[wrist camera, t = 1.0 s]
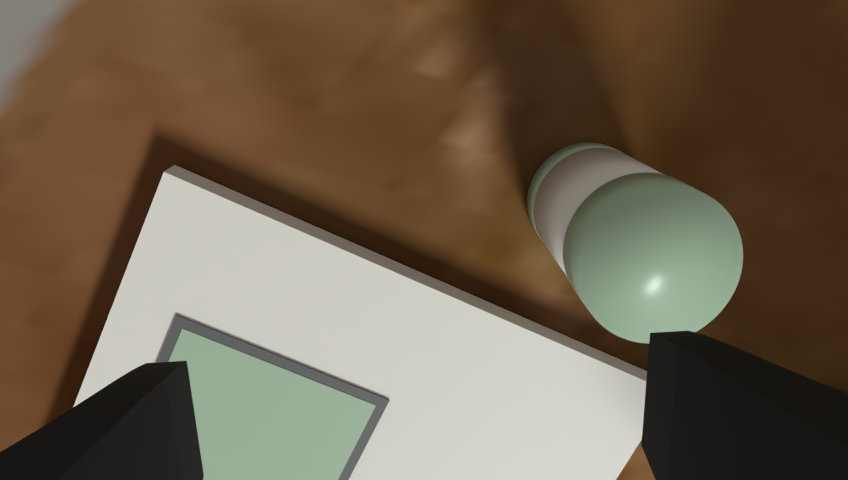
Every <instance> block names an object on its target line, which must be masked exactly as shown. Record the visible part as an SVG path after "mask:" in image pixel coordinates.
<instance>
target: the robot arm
mask: <svg viewBox="0 0 848 480" xmlns="http://www.w3.org/2000/svg"><path fill="white" fill-rule="evenodd" d="M641 445H642V447H643V450H644V452H645V455H646V457H647V460H648V462H649V465H650V467H651V469H652V472H653V474H654V477H655V479H656V480H848V394H847V393H844V392H841V391H839V390H836V389H834V388H831V387H829V386H826V385H824V384H821V383H819V382H816V381H814V380H811V379H809V378H806V377H804V376H802V375H799V374H797V373H794V372H792V371H790V370H787V369H785V368H783V367H780V366H778V365H776V364H773V363H771V362H769V361H766V360H764V359H762V358H759V357H757V356H754V355H752V354H750V353H747V352H745V351H743V350H740V349H738V348H736V347H733V346H731V345H728V344H726V343H723V342H721V341H718V340H716V339H713V338H710V337H708V336H705V335H702V334H699V333H695V332H691V331H674V332H657V333H650V341H649V354H648V366H647V379H646V392H645V405H644V418H643V431H642V444H641ZM203 477H204V474H203V467H202V460H201V453H200V447H199V440H198V433H197V427H196V420H195V413H194V406H193V400H192V393H191V386H190V379H189V373H188V366H187V361H174V362H157V363H145V364H143V365H141V366H139V367H137V368H135V369H133V370H131V371H130V372H128V373H126V374H125V375H123V376H121V377H120V378H118V379H117V380H115V381H113V382H112V383H110V384H109V385H107V386H106V387H104V388H103V389H101V390H99V391H98V392H96V393H95V394H93V395H92V396H90V397H89V398H87V399H86V400H84V401H82V402H81V403H79V404H78V405H76V406H75V407H73V408H72V409H70V410H69V411H67V412H65V413H64V414H62V415H61V416H59V417H58V418H56V419H55V420H53V421H52V422H50V423H48V424H47V425H45V426H44V427H42V428H40V429H39V430H37V431H35V432H34V433H32V434H30V435H28V436H27V437H25V438H23V439H22V440H20V441H18V442H17V443H15V444H13V445H12V446H10V447H8V448H7V449H5V450H3V451H2V452H0V480H203Z"/></svg>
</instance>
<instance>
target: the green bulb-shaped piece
mask: <svg viewBox="0 0 848 480" xmlns="http://www.w3.org/2000/svg"><path fill="white" fill-rule="evenodd" d="M527 212H528V216H529V220H530V223H531V225H532V227H533V229H534V231H535V232H536V234H537V235H538V237H539V238H540V239H541V241H542V242H543V244H544V245H545V246H546V248H547V249H548V251H549V252H550V253H551V255H552V256H553V257H554V259H555V260H556V262H557V263H558V264H559V266H560V267H561V269H562V270H563V271H564V273H565V274H566V276H567V277H568V280H569V282H570V284H571V285H572V287H573V289H574V290H575V292H576V293H577V295H578V296H579V297H580V299H581V300H582V302H583V303H584V304H585V306H586V307H587V309H588V310H589V312H590V313H591V314H592V315H593V317H594V318H595V319H596V320H597V321H598V322H599V323H600V324H601V325H602V326H603V327H604V328H605V329H607V330H608V331H610V332H611V333H613V334H615V335H617V336H619V337H621V338H624V339H626V340H629V341H634V342H638V343H648V344H649V341H650V333H657V332H674V331H691V332H696V331H698V330H700V329H701V328H703V327H704V326H706V325H707V324H708V323H710V322H711V321H712V320H713V319H714V318H715V317H716V316H717V315H718V314H719V313H720V312H721V311H722V310H723V309H724V307H725V306H726V305H727V303H728V302H729V300H730V299H731V297H732V295H733V293H734V292H735V290H736V287H737V285H738V282H739V279H740V275H741V272H742V265H743V246H742V240H741V236H740V233H739V230H738V228H737V226H736V224H735V221H734V220H733V218H732V217H731V215H730V214H729V213H728V211H727V210H726V209H725V208H724V207H723V206H722V205H721V204H720V203H718V202H717V201H716V200H715V199H713V198H711V197H710V196H708V195H706V194H705V193H703V192H701V191H699V190H697V189H695V188H693V187H691V186H689V185H687V184H686V183H684V182H682V181H680V180H678V179H675V178H673V177H671V176H668V175H664V174H662V173H660V172H658V171H656V170H654V169H653V168H651V167H649V166H647V165H645V164H643V163H641V162H639V161H638V160H636V159H634V158H632V157H630V156H628V155H626V154H625V153H623V152H621V151H619V150H617V149H615V148H613V147H611V146H608V145H605V144H602V143H596V142H582V143H576V144H572V145H569V146H567V147H564V148H562V149H560V150H558V151H557V152H555V153H554V154H552V155H551V156H550V157H548V158H547V159H546V160H545V161H544V162H543V163H542V164H541V166H540V167H539V168H538V170H537V171H536V173H535V174H534V176H533V178H532V181H531V183H530V186H529V189H528V195H527Z"/></svg>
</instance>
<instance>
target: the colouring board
mask: <svg viewBox="0 0 848 480" xmlns="http://www.w3.org/2000/svg"><path fill="white" fill-rule="evenodd" d="M174 361H187V366H188V373H189V379H190V386H191V393H192V400H193V406H194V413H195V420H196V427H197V433H198V440H199V447H200V453H201V460H202V467H203V474H204V477H203V480H616V479H617V477H618V476H619V474H620V473H621V471H622V469H623V468H624V466H625V465H626V463H627V462H628V460H629V458H630V457H631V455H632V454H633V452H634V451H635V449H636V447H637V446H638V444H639V443H640V441H641V439H642V431H643V418H644V405H645V392H646V379H647V371H645V370H643V369H641V368H638V367H636V366H634V365H632V364H629V363H627V362H625V361H622V360H620V359H618V358H616V357H613V356H611V355H609V354H606V353H604V352H602V351H600V350H597V349H595V348H593V347H590V346H588V345H586V344H584V343H581V342H579V341H577V340H574V339H572V338H570V337H568V336H565V335H563V334H561V333H558V332H556V331H554V330H552V329H549V328H547V327H545V326H542V325H540V324H538V323H536V322H533V321H531V320H529V319H526V318H524V317H522V316H520V315H517V314H515V313H513V312H510V311H508V310H506V309H504V308H501V307H499V306H497V305H494V304H492V303H490V302H488V301H485V300H483V299H481V298H478V297H476V296H474V295H472V294H469V293H467V292H465V291H462V290H460V289H458V288H456V287H453V286H451V285H449V284H446V283H444V282H442V281H439V280H437V279H435V278H433V277H430V276H428V275H426V274H423V273H421V272H419V271H417V270H414V269H412V268H410V267H407V266H405V265H403V264H401V263H398V262H396V261H394V260H391V259H389V258H387V257H385V256H382V255H380V254H378V253H375V252H373V251H371V250H369V249H366V248H364V247H362V246H359V245H357V244H355V243H353V242H350V241H348V240H346V239H343V238H341V237H339V236H337V235H334V234H332V233H330V232H327V231H325V230H323V229H321V228H318V227H316V226H314V225H311V224H309V223H307V222H305V221H302V220H300V219H298V218H295V217H293V216H291V215H289V214H286V213H284V212H282V211H279V210H277V209H275V208H273V207H270V206H268V205H266V204H263V203H261V202H259V201H257V200H254V199H252V198H250V197H247V196H245V195H243V194H241V193H238V192H236V191H234V190H231V189H229V188H227V187H224V186H222V185H220V184H218V183H215V182H213V181H211V180H208V179H206V178H204V177H202V176H199V175H197V174H195V173H192V172H190V171H188V170H186V169H183V168H181V167H179V166H176V165H173V166H172V167H170V168H169V169H167V170H166V171H164V173H163V175H162V178H161V180H160V183H159V186H158V188H157V191H156V193H155V196H154V199H153V201H152V204H151V206H150V209H149V211H148V214H147V217H146V219H145V222H144V224H143V227H142V230H141V232H140V235H139V237H138V240H137V243H136V245H135V248H134V250H133V253H132V256H131V258H130V261H129V263H128V266H127V269H126V271H125V274H124V276H123V279H122V282H121V284H120V287H119V289H118V292H117V295H116V297H115V300H114V302H113V305H112V308H111V310H110V313H109V315H108V318H107V321H106V323H105V326H104V328H103V331H102V334H101V336H100V339H99V341H98V344H97V346H96V349H95V352H94V354H93V357H92V359H91V362H90V365H89V367H88V370H87V372H86V375H85V378H84V380H83V383H82V385H81V388H80V391H79V393H78V396H77V398H76V401H75V404H74V406H73V407H75V406H76V405H78V404H79V403H81V402H82V401H84V400H86V399H87V398H89V397H90V396H92V395H93V394H95V393H96V392H98V391H99V390H101V389H103V388H104V387H106V386H107V385H109V384H110V383H112V382H113V381H115V380H117V379H118V378H120V377H121V376H123V375H125V374H126V373H128V372H130V371H131V370H133V369H135V368H137V367H139V366H141V365H143V364H145V363H157V362H174Z"/></svg>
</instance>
